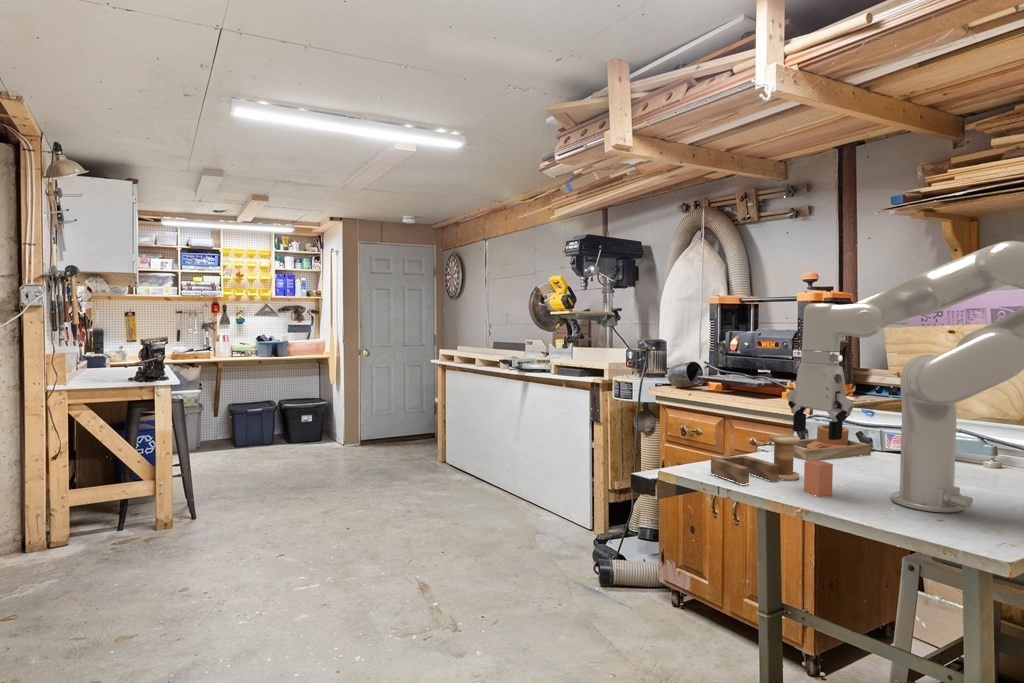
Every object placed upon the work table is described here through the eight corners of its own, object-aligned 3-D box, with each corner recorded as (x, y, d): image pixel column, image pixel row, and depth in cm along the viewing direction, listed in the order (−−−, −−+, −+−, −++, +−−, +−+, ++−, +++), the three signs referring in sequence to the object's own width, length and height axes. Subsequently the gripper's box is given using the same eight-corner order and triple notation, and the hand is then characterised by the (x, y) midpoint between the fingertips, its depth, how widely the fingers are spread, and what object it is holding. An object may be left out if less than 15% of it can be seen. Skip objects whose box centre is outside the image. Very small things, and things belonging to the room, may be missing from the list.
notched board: (778, 481, 147) (778, 465, 147) (742, 485, 143) (742, 468, 143) (745, 470, 157) (745, 455, 157) (710, 474, 153) (711, 458, 153)
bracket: (820, 445, 189) (822, 423, 189) (850, 450, 184) (852, 428, 183) (801, 456, 176) (803, 433, 175) (833, 463, 171) (835, 438, 170)
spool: (805, 479, 149) (806, 438, 149) (783, 481, 147) (784, 440, 146) (783, 472, 156) (784, 433, 156) (761, 474, 153) (762, 435, 153)
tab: (832, 495, 136) (832, 464, 135) (818, 497, 134) (819, 465, 134) (817, 490, 139) (817, 460, 139) (803, 492, 138) (804, 461, 138)
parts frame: (870, 455, 177) (870, 444, 177) (809, 461, 169) (809, 450, 169) (834, 446, 189) (834, 437, 189) (775, 452, 180) (775, 442, 180)
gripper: (867, 361, 129) (863, 442, 130) (801, 356, 145) (798, 427, 146) (841, 362, 126) (837, 444, 127) (777, 356, 143) (774, 428, 143)
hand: (816, 435), depth 137 cm, fingers open, 9 cm apart
